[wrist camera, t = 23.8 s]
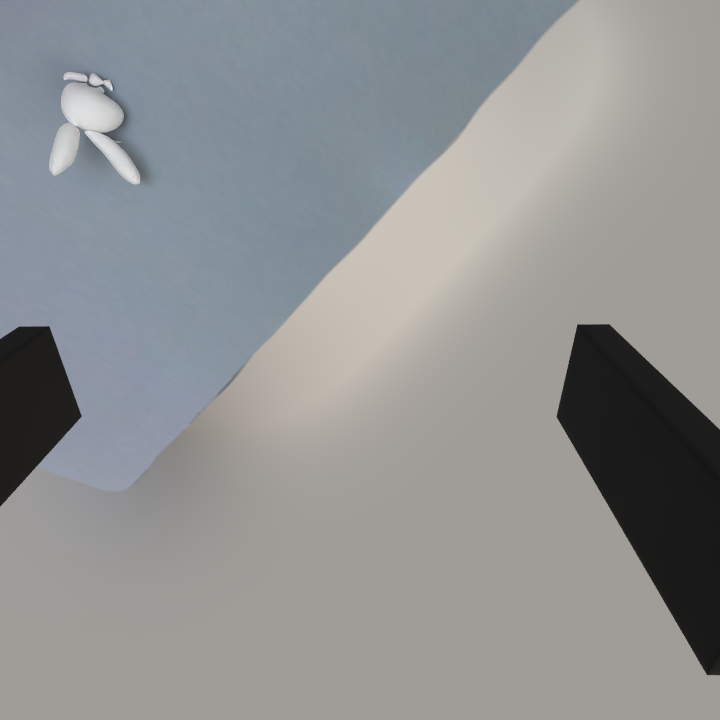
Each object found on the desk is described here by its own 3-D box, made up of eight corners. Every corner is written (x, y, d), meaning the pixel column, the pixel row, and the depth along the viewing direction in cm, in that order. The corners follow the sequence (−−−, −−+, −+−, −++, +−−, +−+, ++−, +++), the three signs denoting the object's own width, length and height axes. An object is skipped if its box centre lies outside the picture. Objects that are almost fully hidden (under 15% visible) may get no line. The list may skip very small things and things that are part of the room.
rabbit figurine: (140, 76, 36) (144, 183, 36) (131, 100, 39) (135, 198, 39) (45, 49, 32) (50, 167, 32) (44, 78, 36) (48, 185, 36)
